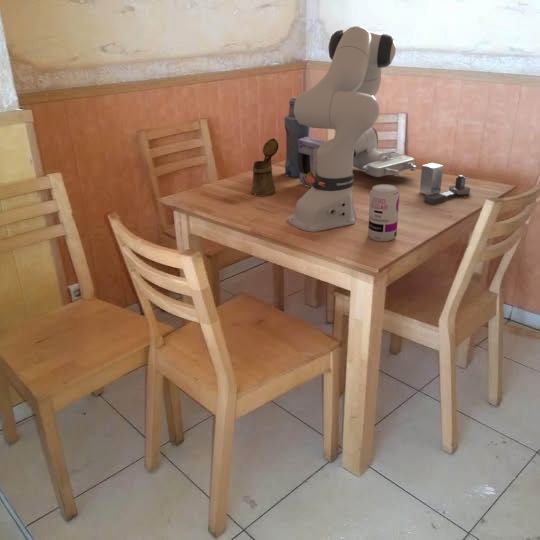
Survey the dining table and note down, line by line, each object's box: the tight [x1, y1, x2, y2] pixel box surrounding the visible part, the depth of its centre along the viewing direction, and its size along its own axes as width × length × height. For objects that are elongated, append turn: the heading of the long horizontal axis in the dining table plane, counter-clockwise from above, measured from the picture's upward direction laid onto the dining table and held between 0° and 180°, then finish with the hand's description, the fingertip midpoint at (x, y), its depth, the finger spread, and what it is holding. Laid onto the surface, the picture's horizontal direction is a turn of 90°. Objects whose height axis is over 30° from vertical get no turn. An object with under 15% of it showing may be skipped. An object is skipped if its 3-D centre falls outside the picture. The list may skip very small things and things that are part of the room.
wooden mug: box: [251, 137, 279, 196], centre depth 203 cm, size 9×14×18 cm, turn 150°
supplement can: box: [367, 183, 400, 242], centre depth 161 cm, size 8×8×15 cm
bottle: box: [284, 96, 311, 178], centre depth 217 cm, size 10×10×30 cm
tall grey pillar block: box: [419, 162, 444, 196], centre depth 196 cm, size 5×5×10 cm
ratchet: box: [424, 174, 471, 206], centre depth 192 cm, size 19×7×6 cm, turn 124°
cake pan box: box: [298, 136, 326, 188], centre depth 203 cm, size 19×5×18 cm, turn 33°
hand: (406, 170), depth 204 cm, fingers open, 8 cm apart
